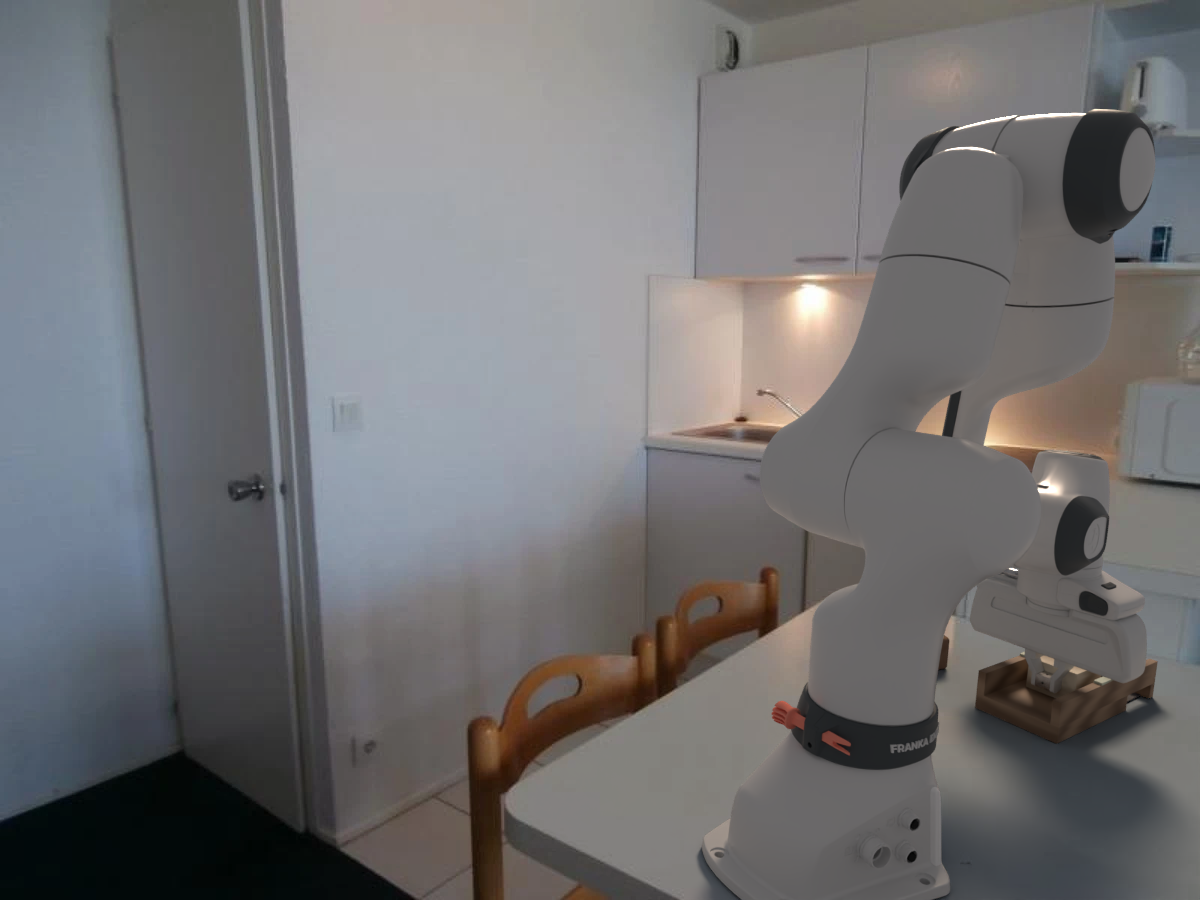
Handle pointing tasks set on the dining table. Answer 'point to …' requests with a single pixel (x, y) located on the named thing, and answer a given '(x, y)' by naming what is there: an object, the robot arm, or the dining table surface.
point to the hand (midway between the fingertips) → (1045, 688)
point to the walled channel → (1055, 700)
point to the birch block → (1069, 683)
